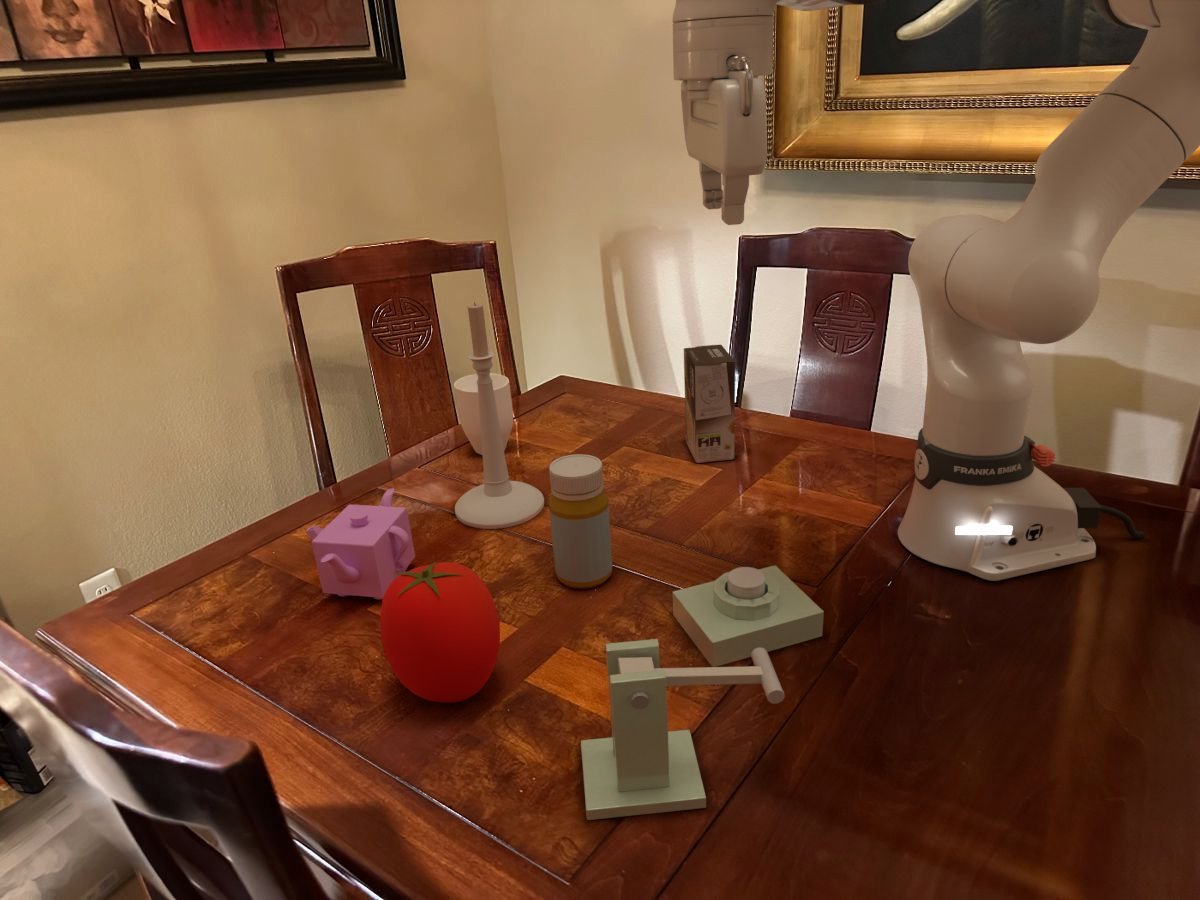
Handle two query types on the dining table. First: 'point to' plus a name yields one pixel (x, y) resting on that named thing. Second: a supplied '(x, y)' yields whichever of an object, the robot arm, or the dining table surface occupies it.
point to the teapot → (363, 549)
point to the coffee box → (709, 403)
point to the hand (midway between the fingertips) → (722, 215)
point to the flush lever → (715, 674)
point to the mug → (470, 407)
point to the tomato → (440, 631)
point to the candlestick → (493, 453)
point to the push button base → (746, 617)
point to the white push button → (746, 583)
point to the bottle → (580, 521)
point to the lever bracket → (639, 746)
